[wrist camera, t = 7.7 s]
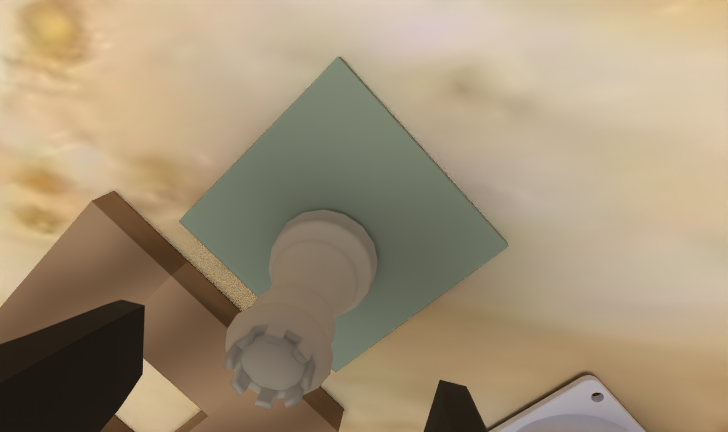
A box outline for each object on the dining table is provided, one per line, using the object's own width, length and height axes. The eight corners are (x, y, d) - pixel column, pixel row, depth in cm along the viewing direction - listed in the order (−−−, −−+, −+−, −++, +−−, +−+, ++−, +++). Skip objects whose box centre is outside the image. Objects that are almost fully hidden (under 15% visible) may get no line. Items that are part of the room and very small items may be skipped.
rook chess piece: (297, 188, 20) (215, 274, 12) (396, 232, 20) (373, 343, 12) (264, 275, 21) (173, 398, 14) (355, 316, 21) (313, 459, 14)
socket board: (343, 409, 24) (338, 432, 22) (166, 532, 29) (152, 557, 27) (113, 191, 21) (91, 201, 20) (-38, 364, 26) (-64, 382, 25)
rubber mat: (506, 242, 20) (508, 245, 19) (337, 366, 23) (335, 372, 23) (340, 56, 18) (338, 57, 18) (183, 218, 21) (178, 221, 21)
